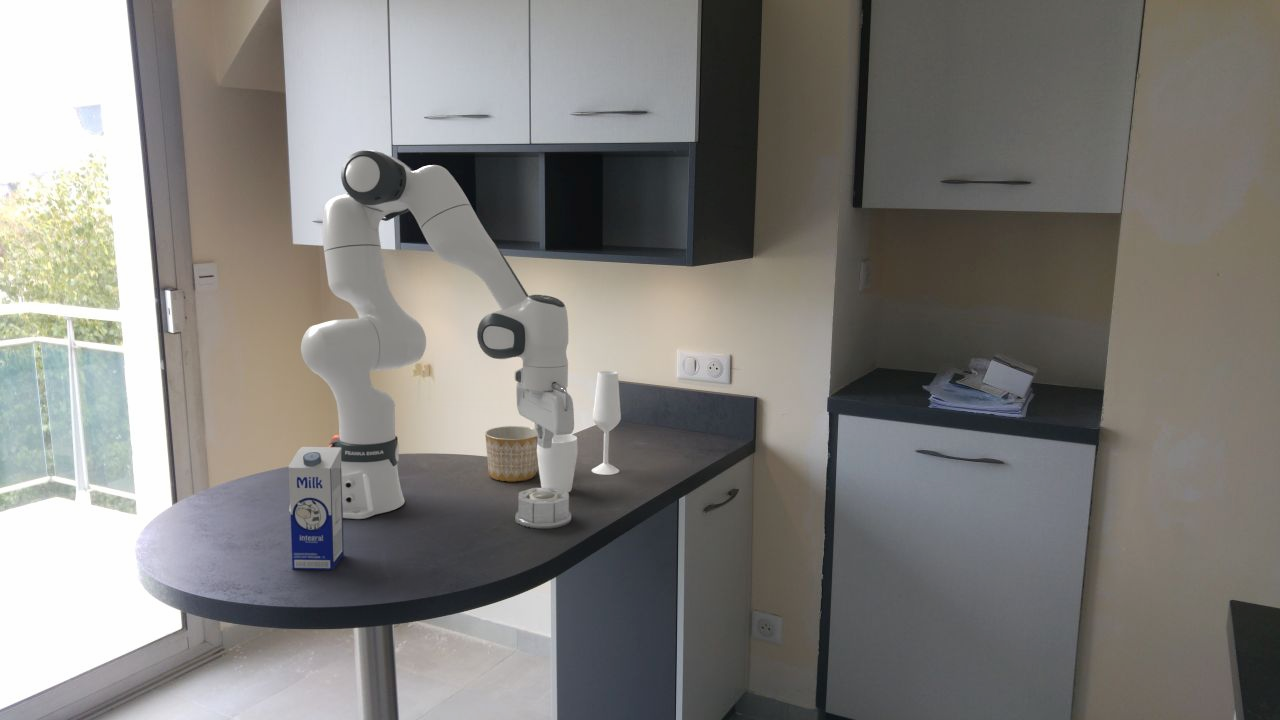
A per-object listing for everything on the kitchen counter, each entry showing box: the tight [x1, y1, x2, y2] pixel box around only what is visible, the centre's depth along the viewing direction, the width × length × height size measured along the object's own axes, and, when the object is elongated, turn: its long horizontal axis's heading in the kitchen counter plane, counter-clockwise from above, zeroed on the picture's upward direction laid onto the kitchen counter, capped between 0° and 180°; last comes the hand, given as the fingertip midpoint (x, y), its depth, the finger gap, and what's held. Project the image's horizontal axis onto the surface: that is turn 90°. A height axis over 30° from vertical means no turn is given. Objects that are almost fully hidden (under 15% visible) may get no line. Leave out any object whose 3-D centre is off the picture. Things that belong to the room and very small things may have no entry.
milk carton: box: [287, 446, 345, 571], centre depth 156 cm, size 7×7×20 cm
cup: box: [537, 433, 579, 493], centre depth 200 cm, size 9×9×12 cm
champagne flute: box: [591, 370, 622, 476], centre depth 215 cm, size 7×7×24 cm
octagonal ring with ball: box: [514, 487, 572, 530], centre depth 182 cm, size 11×11×5 cm
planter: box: [484, 425, 538, 483], centre depth 210 cm, size 13×13×10 cm
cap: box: [530, 491, 557, 501], centre depth 182 cm, size 6×6×4 cm
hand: (544, 446), depth 180 cm, fingers closed
